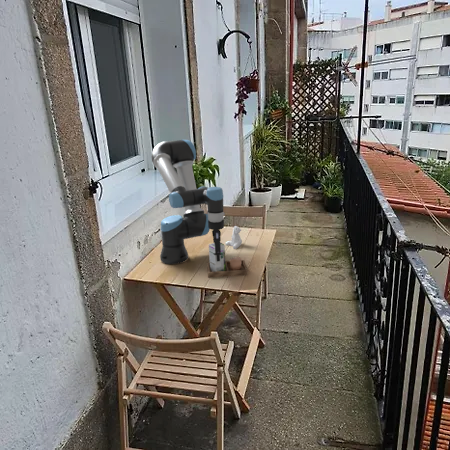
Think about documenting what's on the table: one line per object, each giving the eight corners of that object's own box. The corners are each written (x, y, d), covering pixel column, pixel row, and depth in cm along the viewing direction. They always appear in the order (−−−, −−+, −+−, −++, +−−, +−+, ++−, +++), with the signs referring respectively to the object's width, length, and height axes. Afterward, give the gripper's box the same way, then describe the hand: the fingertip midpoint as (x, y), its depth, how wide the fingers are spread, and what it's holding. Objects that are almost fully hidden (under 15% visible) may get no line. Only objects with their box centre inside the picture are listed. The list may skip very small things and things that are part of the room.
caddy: (208, 279, 182) (208, 272, 181) (207, 268, 193) (207, 262, 192) (247, 276, 183) (247, 270, 182) (244, 266, 195) (244, 260, 193)
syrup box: (216, 274, 184) (215, 247, 179) (209, 270, 189) (208, 243, 184) (225, 271, 187) (224, 244, 182) (219, 267, 192) (218, 241, 187)
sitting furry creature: (224, 244, 223) (223, 225, 219) (235, 241, 228) (235, 222, 224) (234, 249, 216) (234, 229, 212) (246, 245, 221) (245, 226, 217)
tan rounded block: (230, 273, 185) (230, 261, 184) (229, 268, 191) (229, 257, 189) (242, 272, 186) (241, 261, 184) (240, 267, 191) (240, 256, 189)
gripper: (226, 228, 167) (227, 271, 174) (221, 211, 191) (223, 250, 198) (209, 229, 167) (211, 272, 174) (207, 212, 190) (208, 251, 197)
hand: (217, 260), depth 186 cm, fingers open, 13 cm apart
